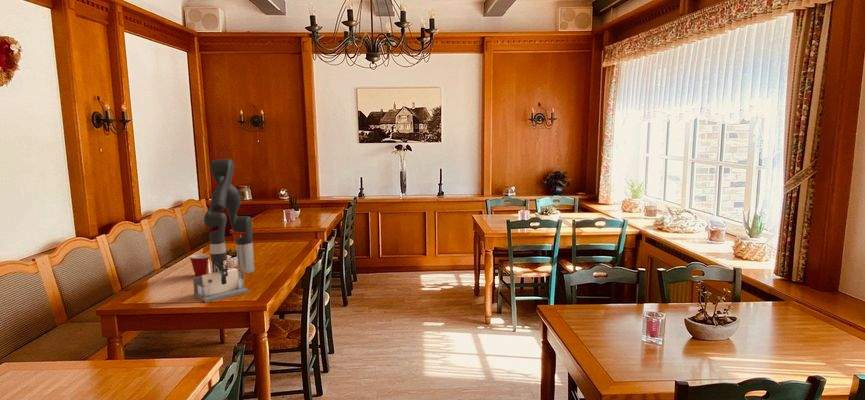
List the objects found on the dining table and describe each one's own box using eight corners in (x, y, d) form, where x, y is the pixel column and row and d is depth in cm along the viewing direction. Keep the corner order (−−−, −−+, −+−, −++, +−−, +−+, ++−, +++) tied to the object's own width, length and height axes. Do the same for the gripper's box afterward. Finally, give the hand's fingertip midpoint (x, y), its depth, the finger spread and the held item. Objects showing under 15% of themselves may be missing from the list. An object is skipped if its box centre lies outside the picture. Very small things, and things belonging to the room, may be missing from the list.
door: (203, 294, 264) (201, 275, 263) (236, 286, 276) (235, 268, 274) (206, 296, 261) (204, 276, 260) (239, 288, 273) (238, 269, 271)
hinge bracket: (194, 295, 268) (192, 277, 266) (236, 286, 282) (235, 268, 281) (205, 302, 256) (203, 283, 254) (249, 292, 270) (247, 274, 269)
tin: (246, 281, 290) (245, 266, 289) (243, 283, 287) (242, 268, 286) (220, 281, 292) (219, 266, 291) (217, 283, 289) (216, 268, 287)
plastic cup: (214, 274, 306) (212, 254, 304) (195, 279, 298) (194, 258, 296) (206, 271, 313) (204, 252, 311) (188, 275, 305) (186, 255, 303)
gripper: (231, 252, 263) (233, 283, 265) (220, 248, 274) (223, 278, 276) (216, 255, 258) (218, 286, 260) (205, 250, 269) (208, 281, 271)
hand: (220, 282), depth 268 cm, fingers open, 8 cm apart
